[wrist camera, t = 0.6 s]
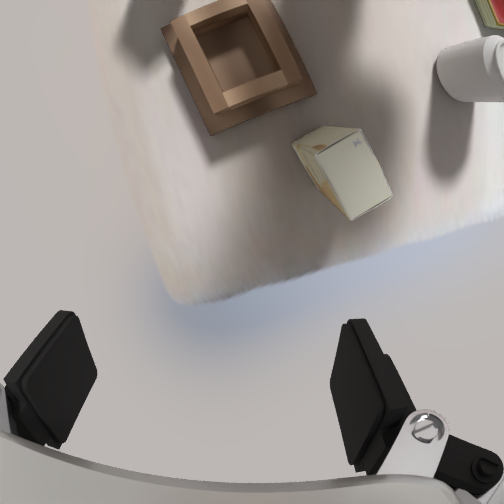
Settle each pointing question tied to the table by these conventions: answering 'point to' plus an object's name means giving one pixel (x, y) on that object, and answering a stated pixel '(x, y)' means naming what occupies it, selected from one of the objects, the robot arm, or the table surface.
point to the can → (473, 70)
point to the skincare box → (344, 169)
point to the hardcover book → (491, 12)
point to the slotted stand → (237, 61)
